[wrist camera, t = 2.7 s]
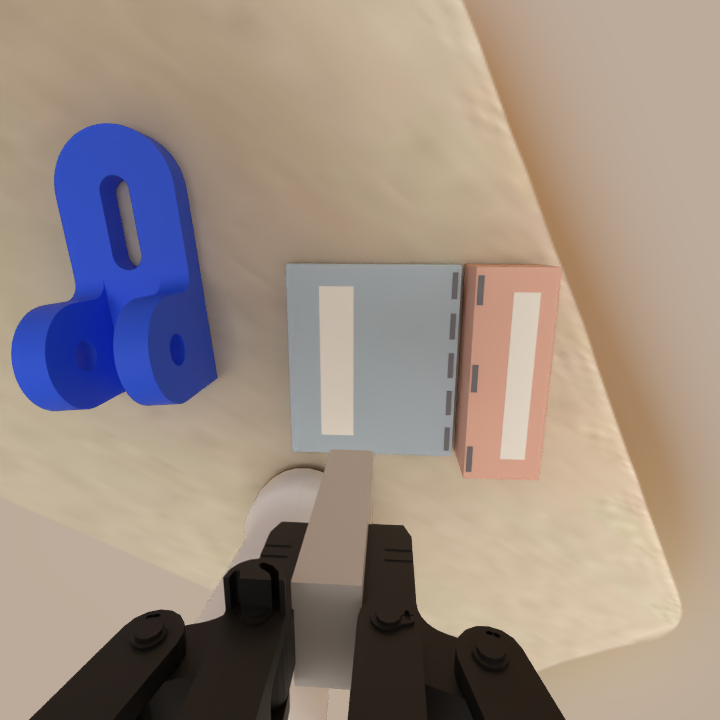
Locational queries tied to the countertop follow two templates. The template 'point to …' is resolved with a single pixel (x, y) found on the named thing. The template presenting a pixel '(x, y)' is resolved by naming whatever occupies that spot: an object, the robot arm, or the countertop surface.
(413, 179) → the countertop surface
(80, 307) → the bracket
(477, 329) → the stub
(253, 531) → the bottle
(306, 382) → the ticket
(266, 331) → the countertop surface
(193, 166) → the countertop surface
